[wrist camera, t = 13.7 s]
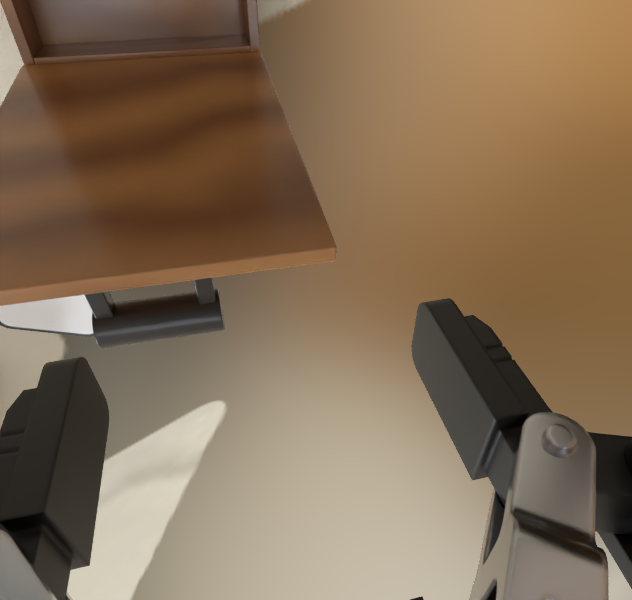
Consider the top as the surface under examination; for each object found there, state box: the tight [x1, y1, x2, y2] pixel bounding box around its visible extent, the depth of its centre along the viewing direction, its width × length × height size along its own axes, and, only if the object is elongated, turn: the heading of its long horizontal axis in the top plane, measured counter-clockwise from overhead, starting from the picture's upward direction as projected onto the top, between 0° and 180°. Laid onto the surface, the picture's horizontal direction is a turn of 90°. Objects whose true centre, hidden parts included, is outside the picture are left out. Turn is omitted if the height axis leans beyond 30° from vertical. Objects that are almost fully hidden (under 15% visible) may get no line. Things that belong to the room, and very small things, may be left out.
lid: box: [0, 52, 336, 349], centre depth 23 cm, size 19×14×5 cm
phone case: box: [0, 295, 94, 336], centre depth 39 cm, size 9×2×16 cm
